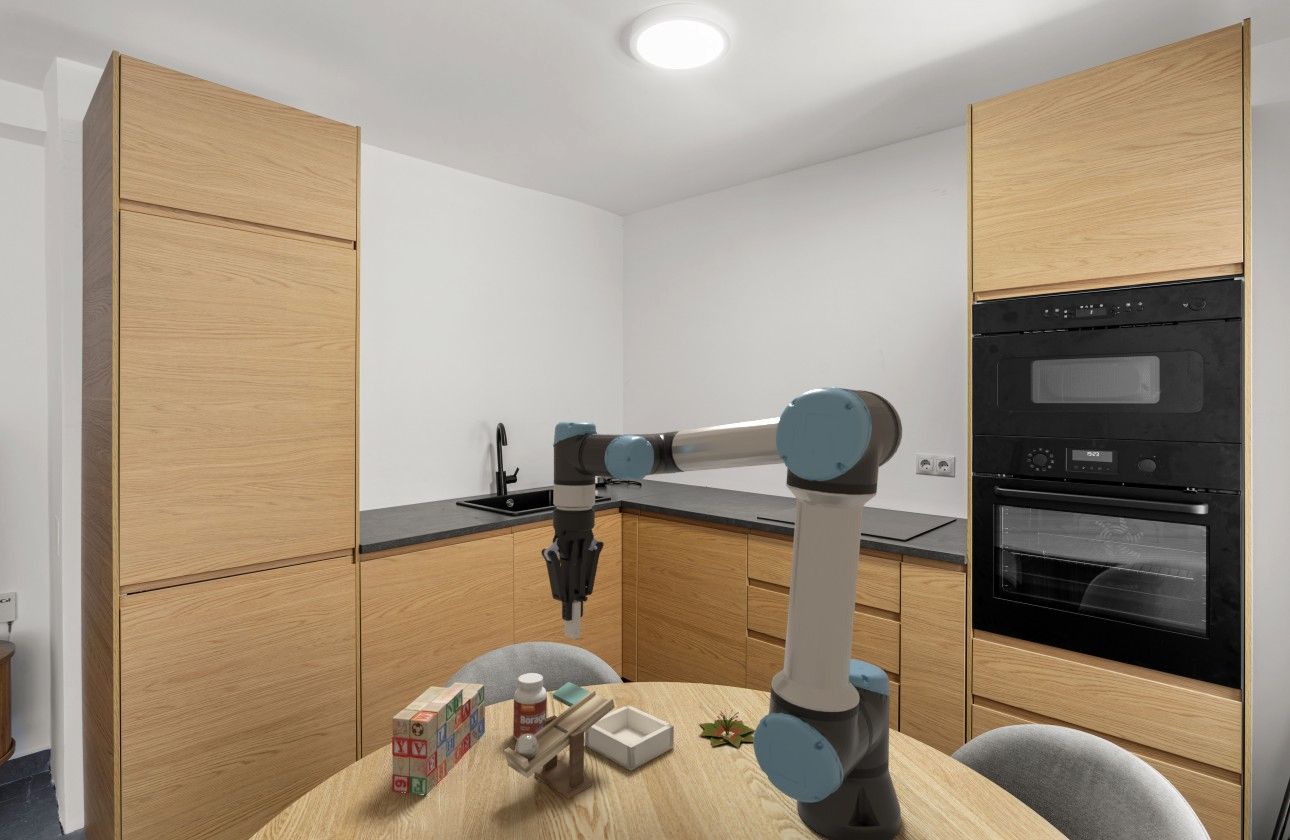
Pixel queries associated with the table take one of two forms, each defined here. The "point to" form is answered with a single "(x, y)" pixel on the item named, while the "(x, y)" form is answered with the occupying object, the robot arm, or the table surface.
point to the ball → (527, 745)
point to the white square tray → (630, 737)
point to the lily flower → (727, 731)
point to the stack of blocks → (435, 735)
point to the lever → (562, 727)
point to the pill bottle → (529, 705)
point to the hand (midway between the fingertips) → (572, 636)
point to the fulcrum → (566, 767)
